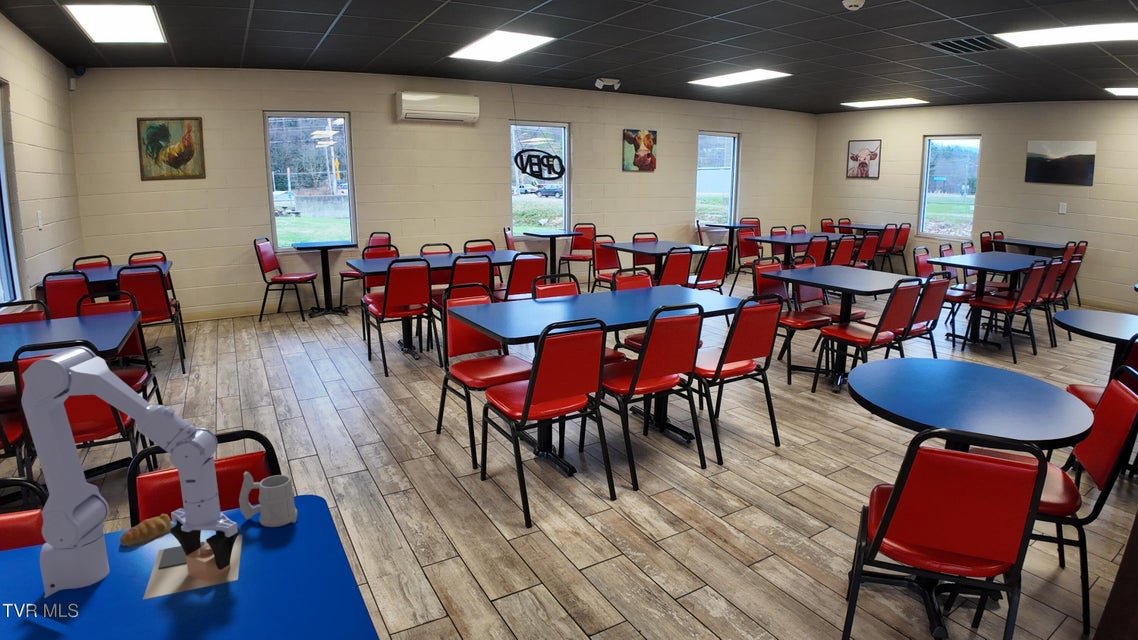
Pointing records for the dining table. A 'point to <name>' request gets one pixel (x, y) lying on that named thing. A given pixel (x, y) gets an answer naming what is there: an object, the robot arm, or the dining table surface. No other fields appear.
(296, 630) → the dining table surface
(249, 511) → the mug
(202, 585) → the base board
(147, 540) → the pastry
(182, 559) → the rest pad
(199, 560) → the beige toy brick
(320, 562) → the dining table surface
